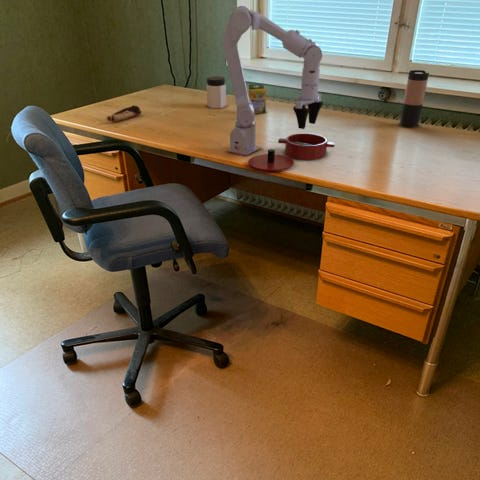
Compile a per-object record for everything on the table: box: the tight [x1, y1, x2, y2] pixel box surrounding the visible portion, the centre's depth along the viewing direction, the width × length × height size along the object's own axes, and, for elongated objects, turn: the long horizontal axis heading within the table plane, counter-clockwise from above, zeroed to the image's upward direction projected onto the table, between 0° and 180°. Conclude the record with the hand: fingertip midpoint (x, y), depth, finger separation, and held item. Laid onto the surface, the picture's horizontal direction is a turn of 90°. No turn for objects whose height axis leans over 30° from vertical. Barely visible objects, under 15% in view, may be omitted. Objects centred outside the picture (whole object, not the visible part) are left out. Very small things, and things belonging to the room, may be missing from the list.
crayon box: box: [248, 83, 267, 114], centre depth 216 cm, size 7×3×12 cm, turn 105°
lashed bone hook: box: [106, 104, 142, 122], centre depth 212 cm, size 9×5×18 cm
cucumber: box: [293, 142, 311, 145], centre depth 173 cm, size 10×3×3 cm
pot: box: [277, 132, 336, 161], centre depth 174 cm, size 14×20×5 cm
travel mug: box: [399, 69, 430, 129], centre depth 197 cm, size 8×8×20 cm
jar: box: [205, 75, 227, 109], centre depth 226 cm, size 9×8×12 cm
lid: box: [247, 148, 295, 172], centre depth 165 cm, size 15×15×5 cm
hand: (306, 125), depth 174 cm, fingers open, 7 cm apart
